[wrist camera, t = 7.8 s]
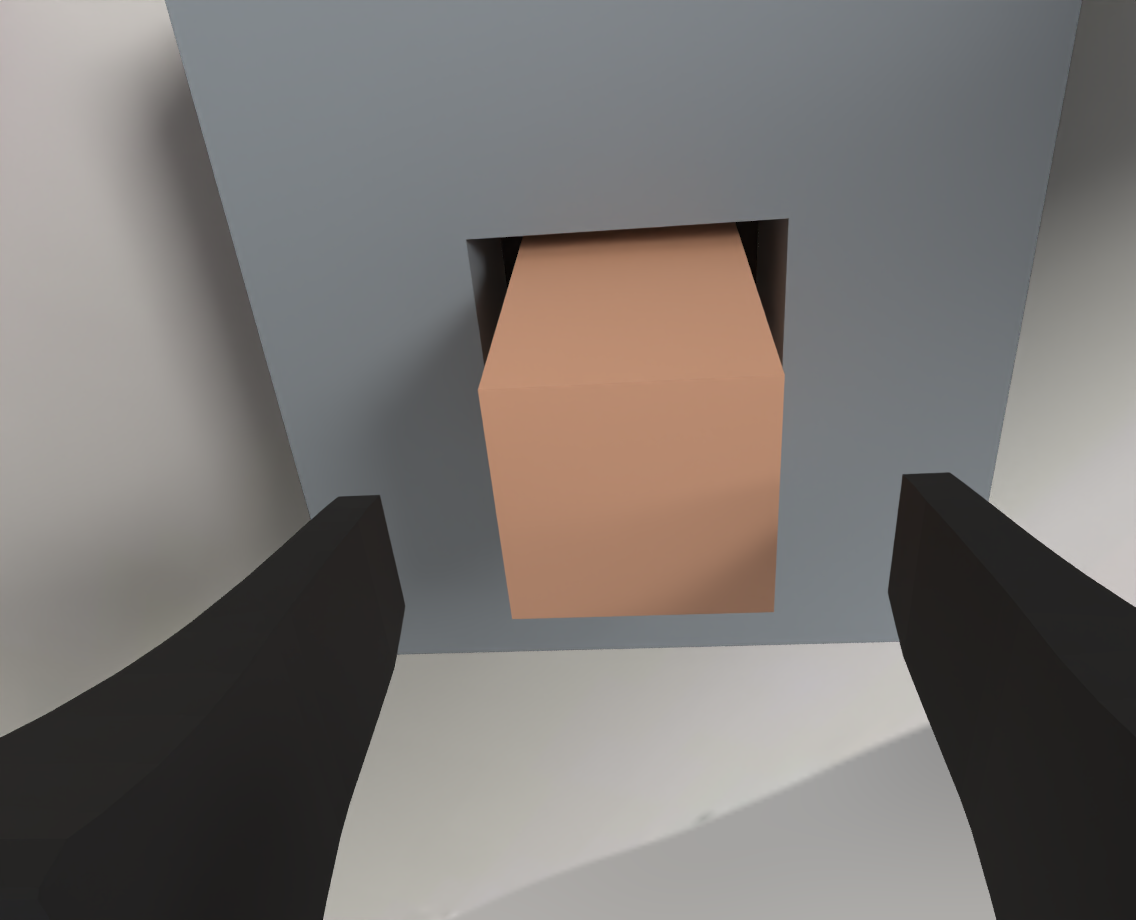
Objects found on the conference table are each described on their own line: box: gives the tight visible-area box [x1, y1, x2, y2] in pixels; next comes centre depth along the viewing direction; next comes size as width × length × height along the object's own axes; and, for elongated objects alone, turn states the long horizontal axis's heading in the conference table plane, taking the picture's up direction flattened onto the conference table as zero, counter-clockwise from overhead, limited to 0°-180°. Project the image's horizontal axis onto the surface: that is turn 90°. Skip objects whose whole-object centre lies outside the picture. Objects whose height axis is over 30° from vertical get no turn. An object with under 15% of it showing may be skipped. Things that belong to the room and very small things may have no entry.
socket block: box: [165, 0, 1082, 654], centre depth 19 cm, size 14×14×4 cm
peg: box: [478, 222, 785, 619], centre depth 17 cm, size 4×4×9 cm
